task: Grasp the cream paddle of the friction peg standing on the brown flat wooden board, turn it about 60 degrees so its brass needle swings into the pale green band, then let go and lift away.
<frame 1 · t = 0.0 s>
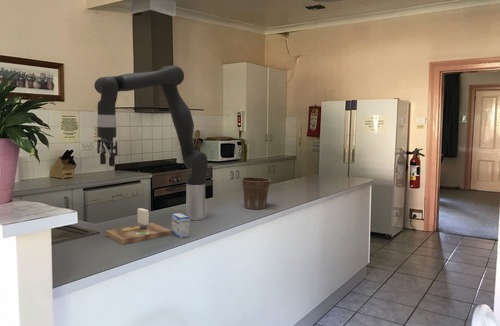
hand: (107, 165, 173), 29 cm above the table, fingers open, 8 cm apart
plant pot: (255, 207, 235), on the table
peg: (134, 220, 176), point 6 cm above the table, hinge at 0.0°
brown flat wooden board: (138, 235, 176), on the table
medicine box: (180, 235, 177), on the table
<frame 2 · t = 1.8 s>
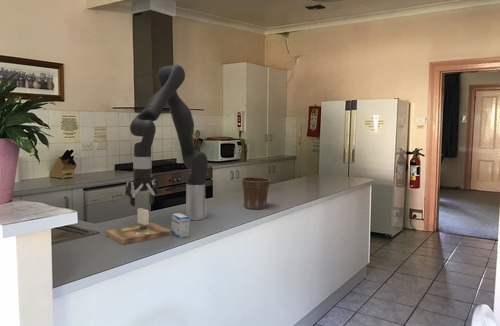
hand: (142, 204, 178), 12 cm above the table, fingers open, 8 cm apart
nothing on the table moved.
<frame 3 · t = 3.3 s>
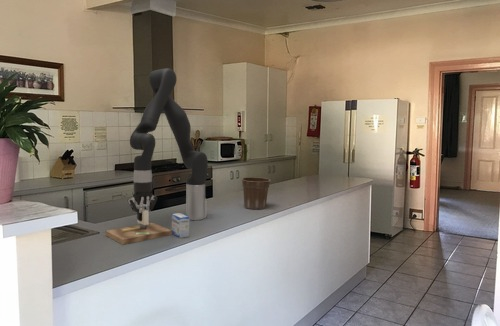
hand: (142, 220, 178), 6 cm above the table, fingers closed on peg, 2 cm apart
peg: (134, 220, 176), point 6 cm above the table, hinge at 0.0°, touching gripper
everything else where it was.
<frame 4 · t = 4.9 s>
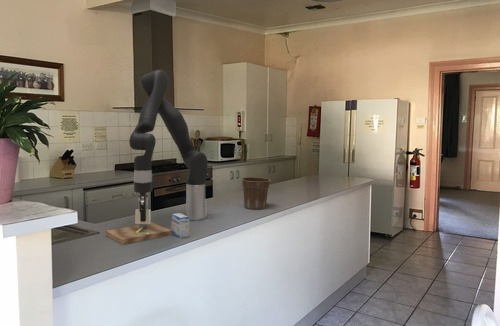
hand: (143, 220, 178), 6 cm above the table, fingers closed on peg, 2 cm apart
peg: (140, 221, 174), point 6 cm above the table, hinge at 44.9°, touching gripper
everything else where it was.
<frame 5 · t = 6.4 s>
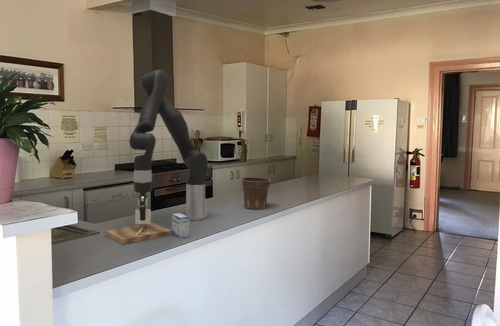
hand: (143, 217, 178), 7 cm above the table, fingers open, 8 cm apart
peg: (141, 221, 174), point 6 cm above the table, hinge at 51.5°
everything else where it was.
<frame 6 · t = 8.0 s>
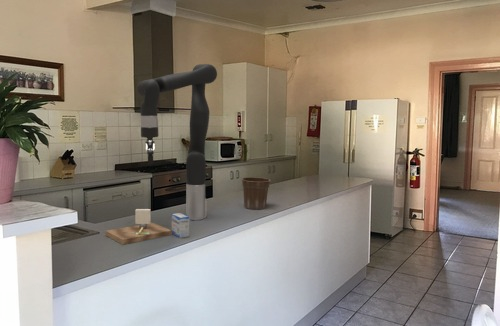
hand: (150, 163, 184), 29 cm above the table, fingers open, 8 cm apart
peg: (141, 221, 174), point 6 cm above the table, hinge at 52.5°
everything else where it was.
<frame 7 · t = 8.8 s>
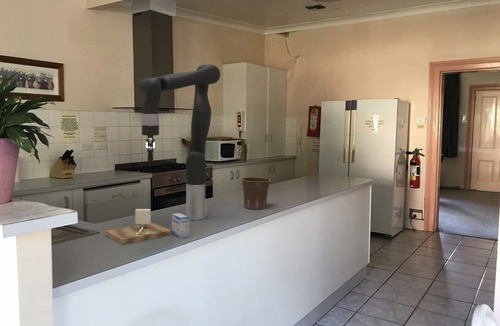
hand: (150, 161, 185), 30 cm above the table, fingers open, 8 cm apart
nothing on the table moved.
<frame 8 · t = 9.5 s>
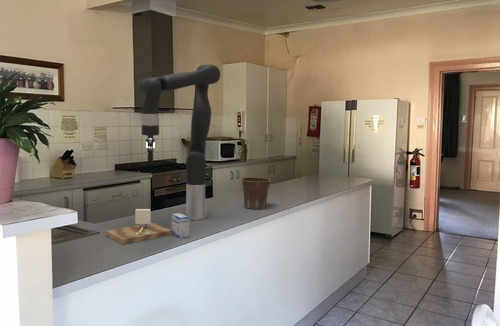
hand: (150, 161, 185), 30 cm above the table, fingers open, 8 cm apart
nothing on the table moved.
at the end: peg at +53° (first picture: +0°); the gripper is holding nothing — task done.
